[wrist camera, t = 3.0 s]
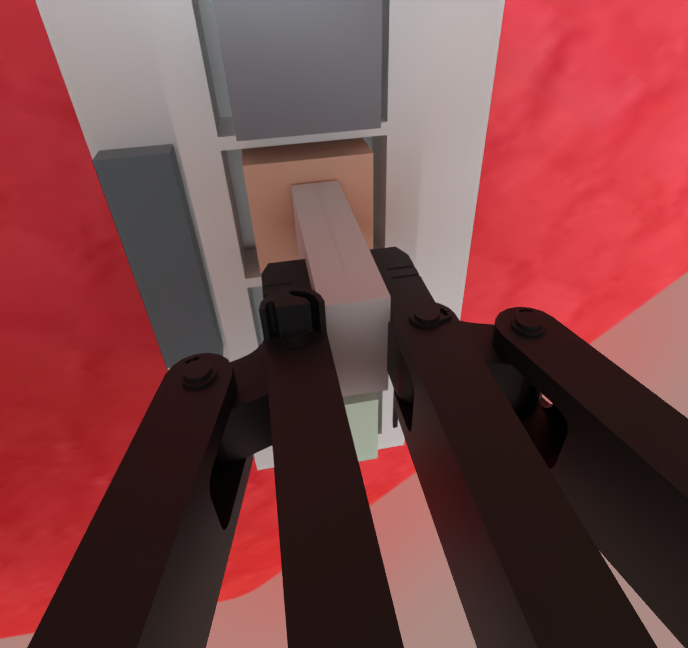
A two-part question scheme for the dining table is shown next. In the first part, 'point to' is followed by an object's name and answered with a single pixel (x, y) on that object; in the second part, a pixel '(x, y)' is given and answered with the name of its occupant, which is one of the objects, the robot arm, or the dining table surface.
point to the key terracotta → (302, 168)
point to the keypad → (226, 152)
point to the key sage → (363, 424)
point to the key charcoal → (301, 65)
